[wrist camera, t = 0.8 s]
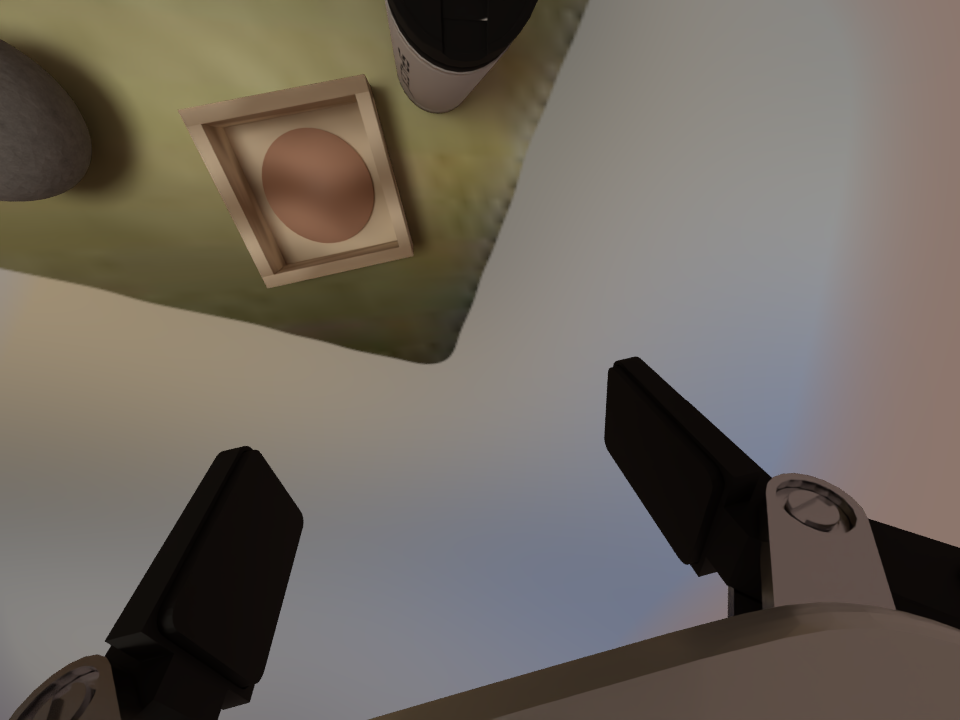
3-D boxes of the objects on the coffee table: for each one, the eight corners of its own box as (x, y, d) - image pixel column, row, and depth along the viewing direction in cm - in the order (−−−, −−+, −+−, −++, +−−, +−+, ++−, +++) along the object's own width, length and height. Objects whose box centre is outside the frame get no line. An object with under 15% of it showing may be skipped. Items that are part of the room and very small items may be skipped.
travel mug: (472, 13, 28) (567, -220, 11) (472, 114, 31) (547, 59, 14) (390, 8, 27) (354, -254, 10) (400, 113, 30) (385, 52, 13)
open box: (209, 116, 28) (177, 109, 25) (370, 85, 29) (364, 74, 25) (283, 274, 35) (267, 288, 31) (413, 245, 36) (413, 255, 32)
